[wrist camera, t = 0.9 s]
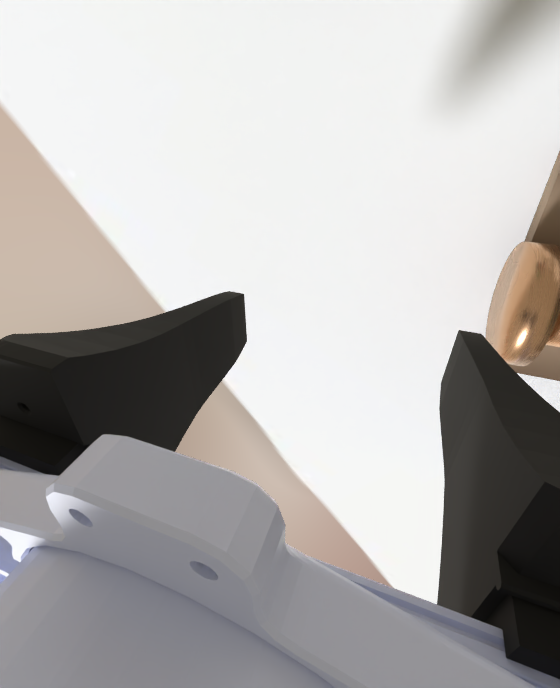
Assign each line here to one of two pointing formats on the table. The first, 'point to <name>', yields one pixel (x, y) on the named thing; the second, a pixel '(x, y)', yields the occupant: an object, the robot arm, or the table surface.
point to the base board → (550, 228)
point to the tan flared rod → (526, 304)
